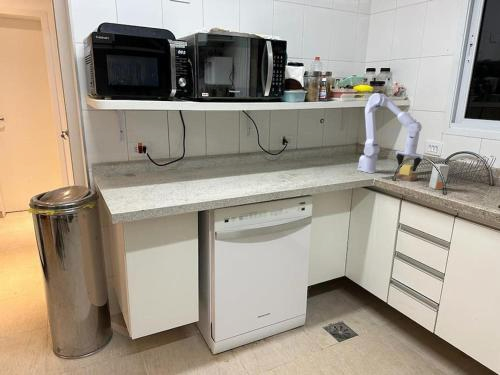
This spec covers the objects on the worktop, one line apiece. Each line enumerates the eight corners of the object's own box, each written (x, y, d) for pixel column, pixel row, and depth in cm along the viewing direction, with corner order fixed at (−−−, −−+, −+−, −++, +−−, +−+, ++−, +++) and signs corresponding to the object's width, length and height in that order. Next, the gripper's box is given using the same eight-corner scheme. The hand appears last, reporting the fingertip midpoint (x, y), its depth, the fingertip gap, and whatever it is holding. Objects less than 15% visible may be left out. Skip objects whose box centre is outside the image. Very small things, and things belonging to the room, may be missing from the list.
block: (399, 173, 190) (401, 164, 188) (403, 172, 193) (405, 163, 192) (408, 175, 186) (410, 166, 185) (412, 174, 190) (414, 165, 188)
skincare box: (434, 189, 171) (439, 165, 167) (428, 187, 174) (433, 163, 171) (444, 189, 172) (450, 165, 169) (438, 186, 176) (443, 163, 173)
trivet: (393, 177, 190) (394, 173, 190) (400, 175, 197) (401, 171, 196) (410, 181, 184) (411, 176, 184) (416, 179, 190) (417, 174, 190)
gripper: (394, 143, 188) (390, 167, 191) (422, 147, 178) (417, 173, 181) (400, 142, 192) (396, 166, 196) (427, 146, 182) (422, 171, 186)
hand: (406, 169), depth 189 cm, fingers open, 7 cm apart
